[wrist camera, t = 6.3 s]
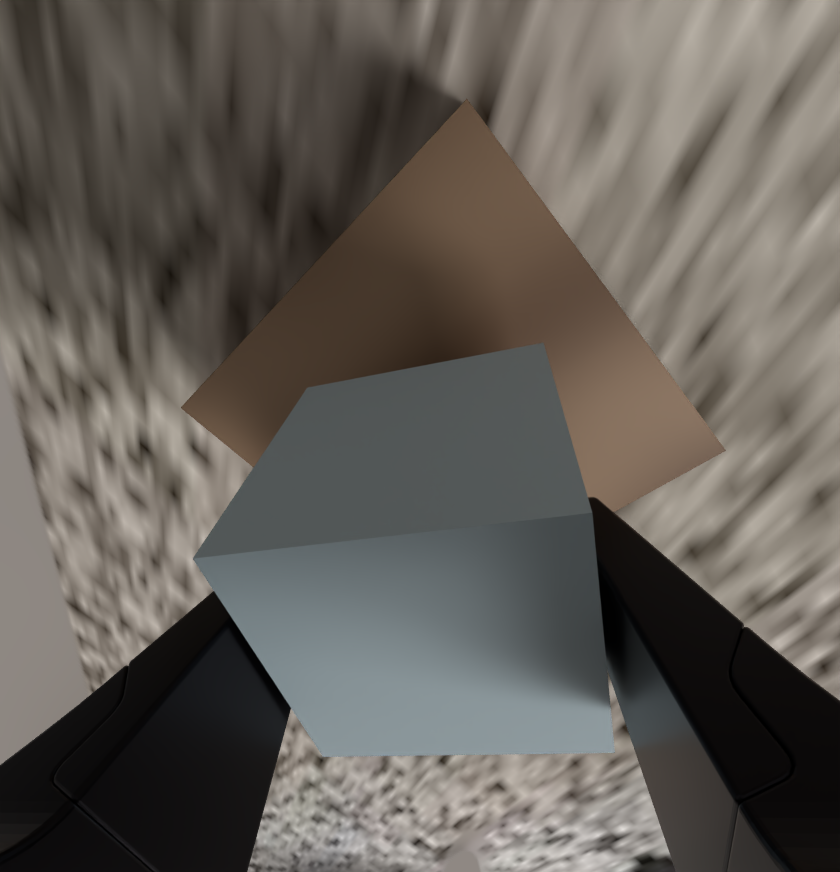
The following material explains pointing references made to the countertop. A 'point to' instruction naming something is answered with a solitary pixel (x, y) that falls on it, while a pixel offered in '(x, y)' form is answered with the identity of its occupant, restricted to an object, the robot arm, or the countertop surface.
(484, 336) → the board
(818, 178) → the countertop surface
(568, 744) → the block
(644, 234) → the countertop surface
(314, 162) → the countertop surface
